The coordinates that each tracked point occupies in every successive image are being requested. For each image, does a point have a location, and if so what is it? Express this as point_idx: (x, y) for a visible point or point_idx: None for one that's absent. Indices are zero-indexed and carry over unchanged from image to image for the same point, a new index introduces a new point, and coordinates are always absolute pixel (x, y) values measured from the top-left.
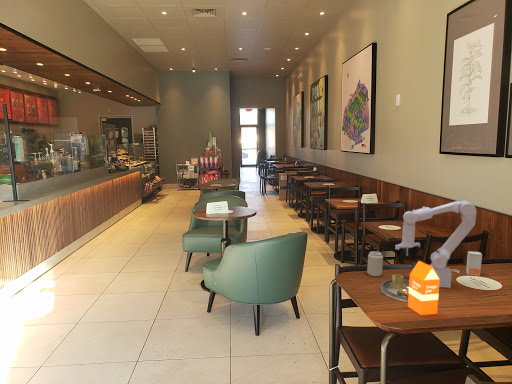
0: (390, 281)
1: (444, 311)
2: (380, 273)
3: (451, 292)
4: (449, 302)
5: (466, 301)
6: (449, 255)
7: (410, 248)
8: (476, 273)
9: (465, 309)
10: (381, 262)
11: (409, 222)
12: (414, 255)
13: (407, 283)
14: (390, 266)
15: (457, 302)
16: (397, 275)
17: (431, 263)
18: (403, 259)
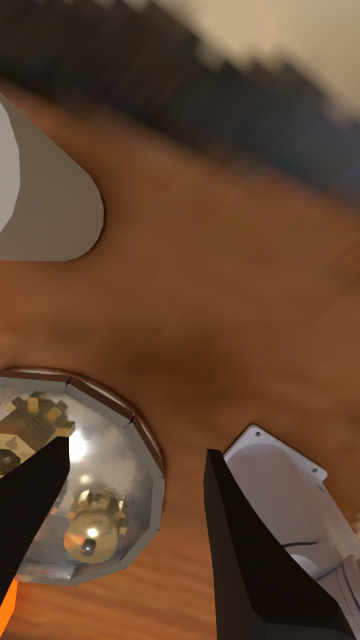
0: (26, 386)
1: (50, 610)
2: (60, 260)
3: None
4: (130, 584)
5: (196, 602)
6: None
7: (241, 610)
8: None
9: (130, 628)
10: (9, 257)
11: None
12: (213, 558)
13: (112, 426)
14: (302, 121)
15: (157, 594)
16: (13, 451)
17: (306, 563)
18: (43, 517)
